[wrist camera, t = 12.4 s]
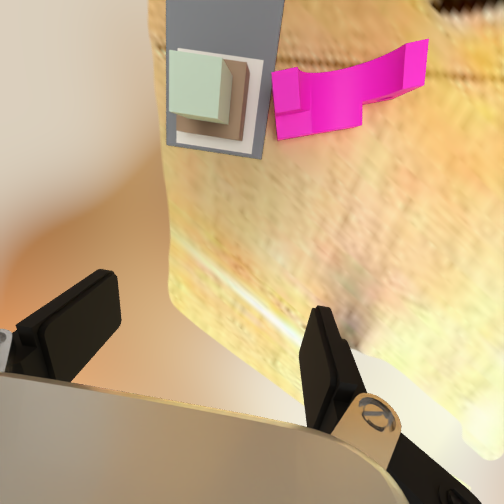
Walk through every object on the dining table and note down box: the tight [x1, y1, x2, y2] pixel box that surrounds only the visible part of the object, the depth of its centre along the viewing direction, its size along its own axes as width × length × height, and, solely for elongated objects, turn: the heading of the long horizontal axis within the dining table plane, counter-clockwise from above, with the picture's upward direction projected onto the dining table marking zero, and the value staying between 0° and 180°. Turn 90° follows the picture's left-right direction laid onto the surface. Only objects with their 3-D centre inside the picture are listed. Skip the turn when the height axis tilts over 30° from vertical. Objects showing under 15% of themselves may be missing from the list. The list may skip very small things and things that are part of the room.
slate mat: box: [166, 0, 285, 159], centre depth 30 cm, size 14×22×1 cm, turn 172°
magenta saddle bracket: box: [271, 39, 429, 141], centre depth 28 cm, size 15×6×8 cm, turn 99°
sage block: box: [169, 50, 233, 125], centre depth 26 cm, size 5×5×6 cm
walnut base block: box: [176, 59, 250, 141], centre depth 30 cm, size 8×8×4 cm
